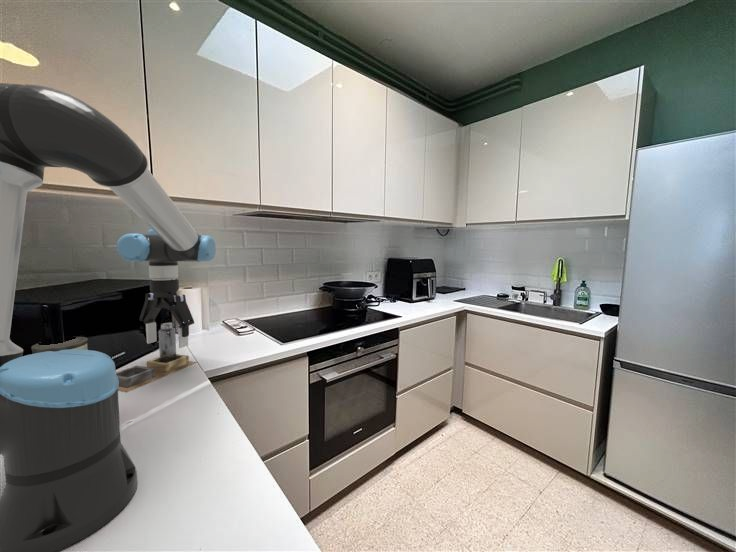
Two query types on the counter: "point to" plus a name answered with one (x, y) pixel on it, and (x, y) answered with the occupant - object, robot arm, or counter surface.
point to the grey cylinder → (167, 343)
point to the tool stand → (150, 372)
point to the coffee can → (62, 345)
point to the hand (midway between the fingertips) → (167, 344)
